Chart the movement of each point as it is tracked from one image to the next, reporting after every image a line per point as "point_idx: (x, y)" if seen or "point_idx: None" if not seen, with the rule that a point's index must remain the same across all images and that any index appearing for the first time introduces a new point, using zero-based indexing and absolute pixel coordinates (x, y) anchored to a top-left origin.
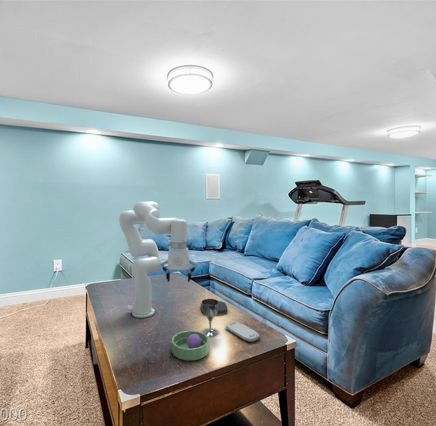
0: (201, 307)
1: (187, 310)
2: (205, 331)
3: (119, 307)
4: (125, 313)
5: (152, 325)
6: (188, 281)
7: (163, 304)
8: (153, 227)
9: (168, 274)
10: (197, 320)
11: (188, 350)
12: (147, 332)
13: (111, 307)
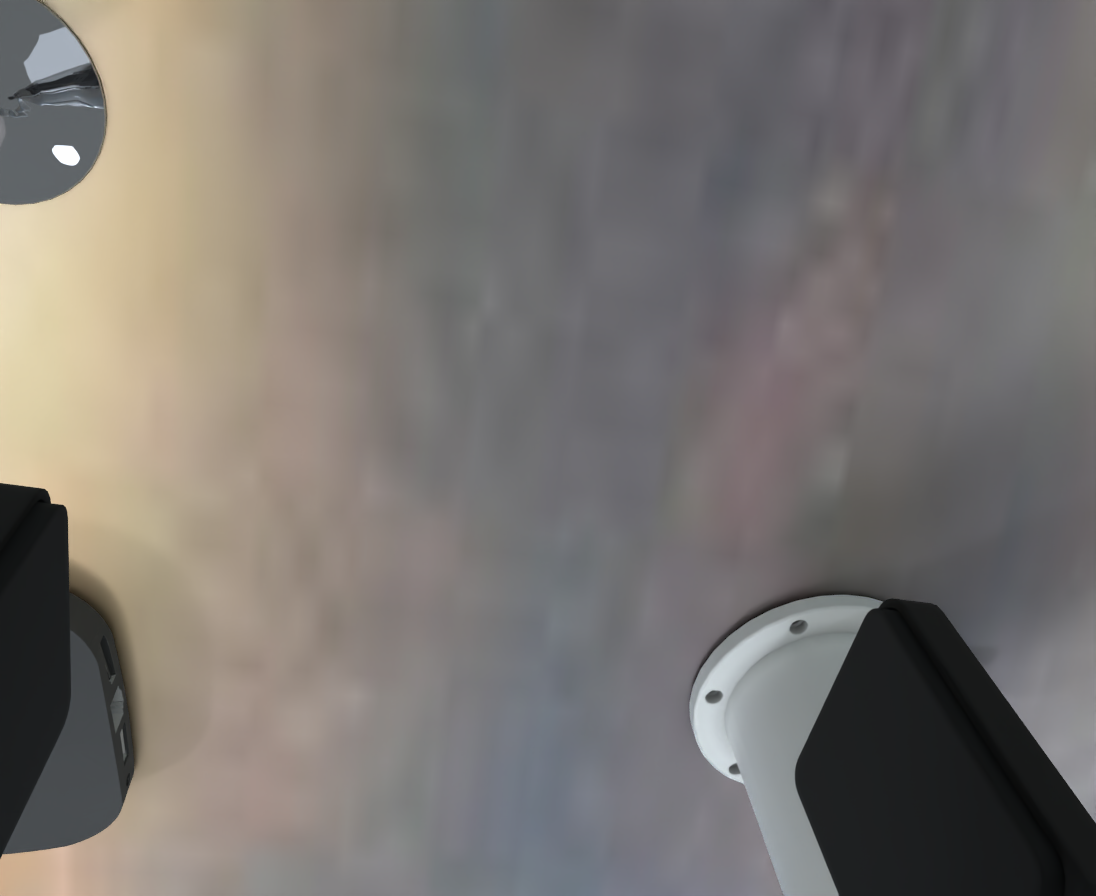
0: (115, 724)
1: (305, 708)
2: (62, 115)
3: None
4: None
5: (759, 413)
6: (27, 490)
7: (570, 847)
8: None
9: (1065, 839)
10: (183, 462)
11: None
12: (846, 250)
13: None
